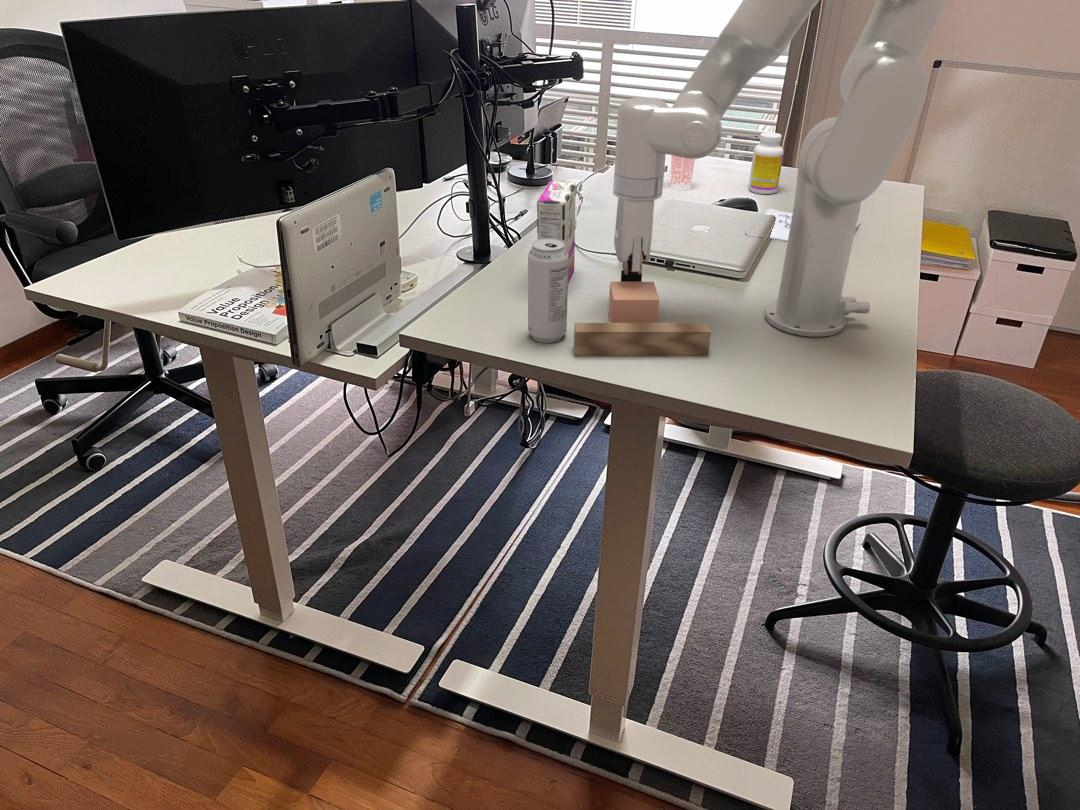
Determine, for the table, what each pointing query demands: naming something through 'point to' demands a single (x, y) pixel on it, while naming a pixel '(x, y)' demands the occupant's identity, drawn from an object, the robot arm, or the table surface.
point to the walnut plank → (641, 339)
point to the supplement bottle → (766, 164)
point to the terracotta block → (633, 302)
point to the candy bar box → (558, 216)
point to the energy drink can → (547, 290)
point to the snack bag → (782, 224)
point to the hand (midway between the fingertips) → (630, 294)
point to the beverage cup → (681, 173)
